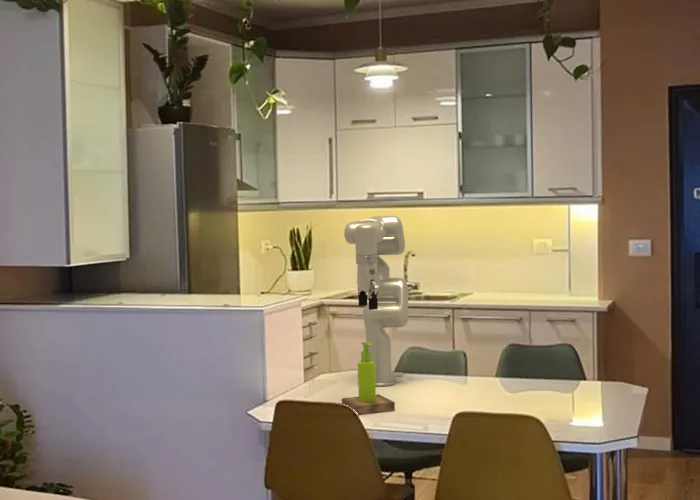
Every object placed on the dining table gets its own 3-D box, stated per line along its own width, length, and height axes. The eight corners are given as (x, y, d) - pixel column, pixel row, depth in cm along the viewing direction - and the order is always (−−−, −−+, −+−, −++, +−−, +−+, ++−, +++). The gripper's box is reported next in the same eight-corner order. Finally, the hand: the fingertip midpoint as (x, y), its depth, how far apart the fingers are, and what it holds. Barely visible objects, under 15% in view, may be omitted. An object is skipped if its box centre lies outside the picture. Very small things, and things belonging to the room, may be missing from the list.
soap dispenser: (365, 403, 304) (363, 344, 303) (355, 399, 310) (354, 342, 309) (380, 400, 307) (378, 342, 306) (370, 397, 313) (369, 340, 312)
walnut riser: (379, 402, 318) (378, 394, 317) (394, 410, 305) (394, 402, 304) (341, 406, 313) (341, 398, 313) (356, 415, 300) (356, 406, 299)
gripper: (385, 260, 310) (387, 309, 312) (367, 256, 326) (368, 303, 328) (365, 262, 308) (367, 311, 309) (348, 258, 324) (349, 305, 325)
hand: (368, 307), depth 319 cm, fingers open, 9 cm apart
